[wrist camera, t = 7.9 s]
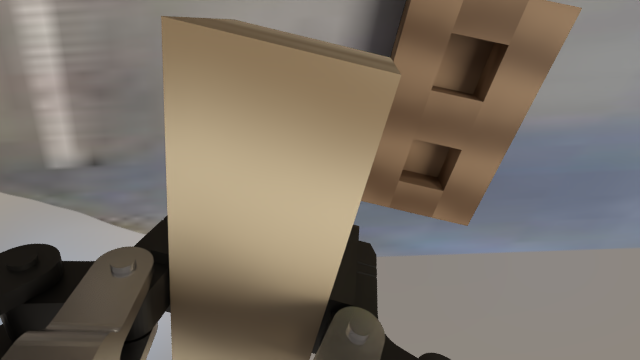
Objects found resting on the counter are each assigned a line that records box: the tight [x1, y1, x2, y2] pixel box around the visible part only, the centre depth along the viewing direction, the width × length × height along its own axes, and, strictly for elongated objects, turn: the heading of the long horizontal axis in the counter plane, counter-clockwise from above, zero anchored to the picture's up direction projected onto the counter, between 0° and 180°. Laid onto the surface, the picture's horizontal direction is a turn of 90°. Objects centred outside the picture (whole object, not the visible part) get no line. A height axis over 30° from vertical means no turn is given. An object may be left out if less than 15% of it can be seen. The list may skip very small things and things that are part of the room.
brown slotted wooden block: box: [361, 0, 582, 226], centre depth 29 cm, size 20×12×4 cm, turn 169°
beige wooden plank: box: [161, 16, 401, 360], centre depth 11 cm, size 13×4×8 cm, turn 168°
